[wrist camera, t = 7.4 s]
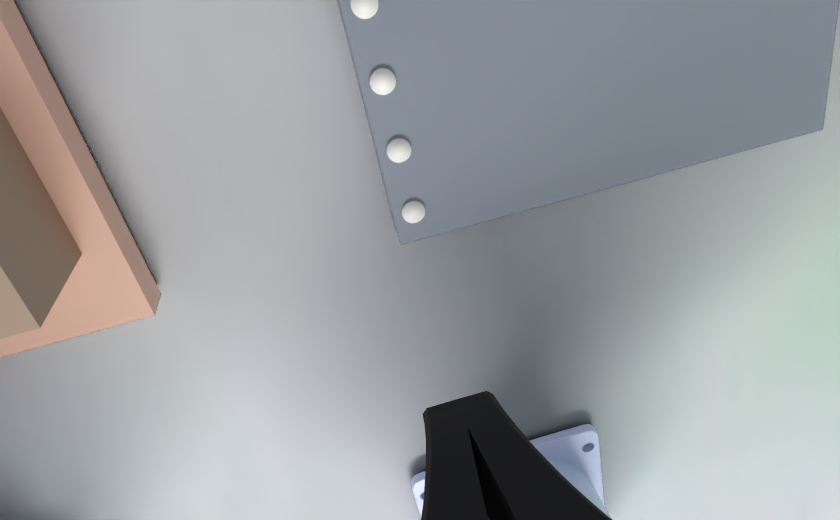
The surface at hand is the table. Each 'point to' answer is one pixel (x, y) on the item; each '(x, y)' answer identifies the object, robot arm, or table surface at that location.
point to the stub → (56, 214)
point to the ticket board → (574, 94)
